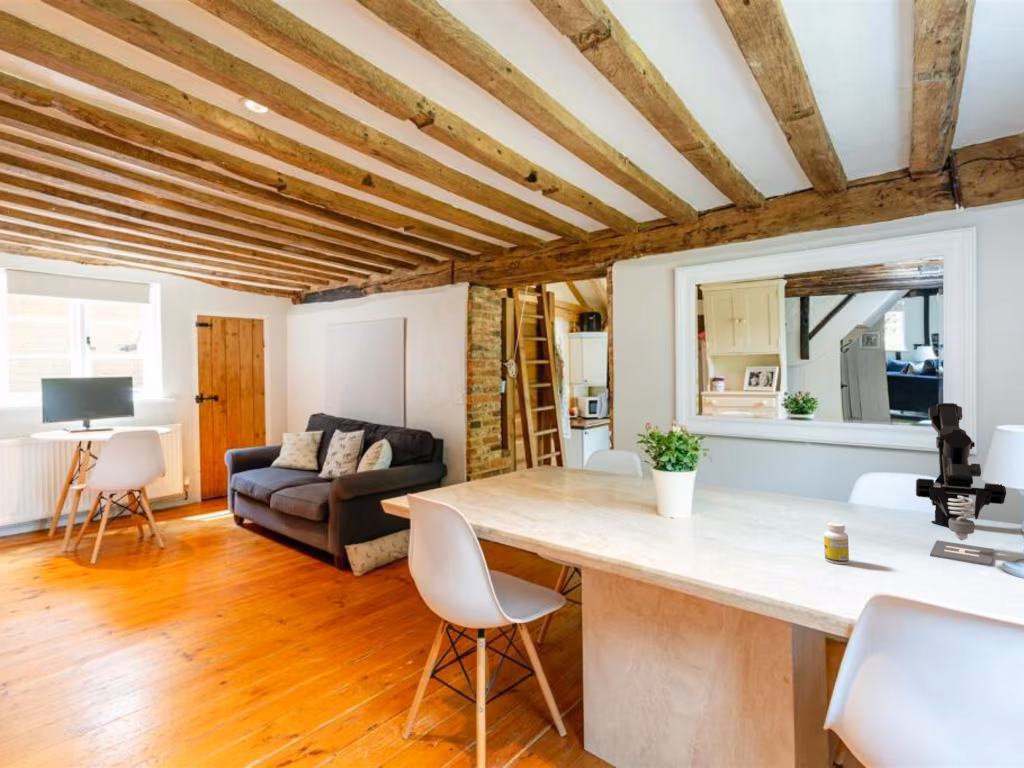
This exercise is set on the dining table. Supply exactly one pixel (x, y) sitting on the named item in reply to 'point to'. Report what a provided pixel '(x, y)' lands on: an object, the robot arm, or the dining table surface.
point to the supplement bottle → (836, 544)
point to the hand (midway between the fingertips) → (961, 517)
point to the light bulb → (962, 517)
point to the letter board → (962, 552)
